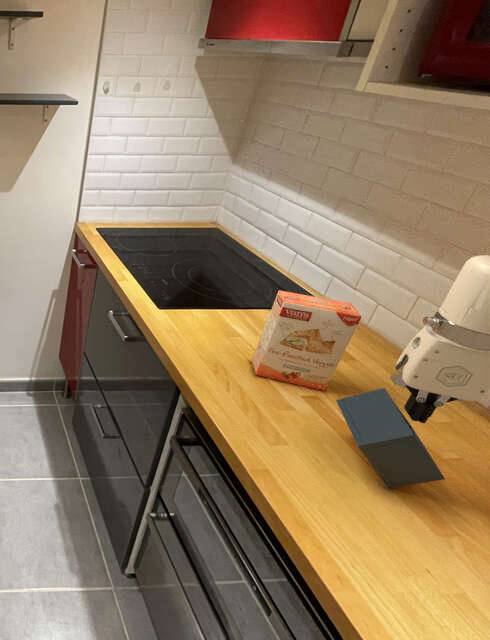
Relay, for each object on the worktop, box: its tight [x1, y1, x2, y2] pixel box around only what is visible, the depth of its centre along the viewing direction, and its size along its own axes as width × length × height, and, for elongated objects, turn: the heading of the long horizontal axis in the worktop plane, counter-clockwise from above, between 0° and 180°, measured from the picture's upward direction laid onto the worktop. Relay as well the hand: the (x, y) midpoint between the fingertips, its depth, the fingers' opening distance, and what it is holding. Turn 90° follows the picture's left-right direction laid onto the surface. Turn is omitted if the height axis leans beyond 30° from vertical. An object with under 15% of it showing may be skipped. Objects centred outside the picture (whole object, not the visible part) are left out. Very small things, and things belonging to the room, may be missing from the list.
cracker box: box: [251, 290, 362, 392], centre depth 101 cm, size 14×6×21 cm, turn 68°
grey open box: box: [335, 387, 446, 489], centre depth 82 cm, size 8×12×10 cm
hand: (414, 416), depth 79 cm, fingers closed
